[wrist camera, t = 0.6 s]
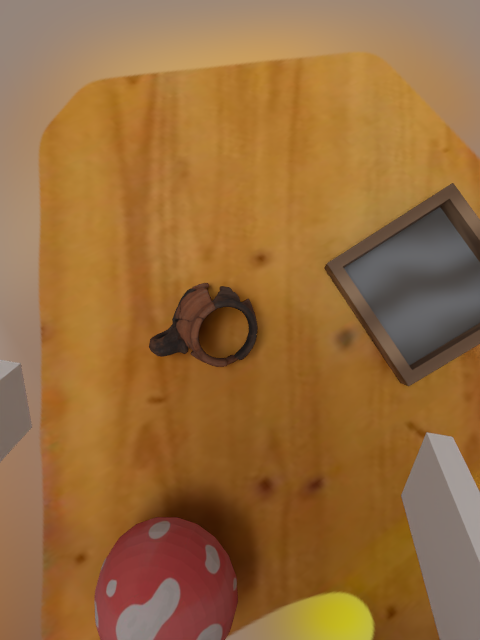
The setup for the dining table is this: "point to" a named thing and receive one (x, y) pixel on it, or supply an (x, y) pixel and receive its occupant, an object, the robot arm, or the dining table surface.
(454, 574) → the robot arm
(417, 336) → the tray
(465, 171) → the dining table surface
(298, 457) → the dining table surface
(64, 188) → the dining table surface
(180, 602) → the decorative mushroom
